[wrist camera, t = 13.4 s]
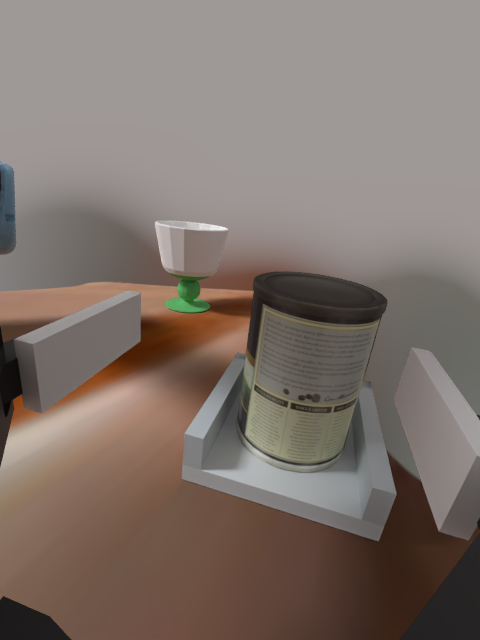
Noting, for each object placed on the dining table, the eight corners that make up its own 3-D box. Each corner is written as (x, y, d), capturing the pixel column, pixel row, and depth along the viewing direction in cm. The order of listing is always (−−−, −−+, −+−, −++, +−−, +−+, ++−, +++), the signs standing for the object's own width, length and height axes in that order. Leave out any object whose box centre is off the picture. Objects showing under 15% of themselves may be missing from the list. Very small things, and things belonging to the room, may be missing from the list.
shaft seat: (378, 541, 23) (407, 466, 20) (181, 478, 26) (186, 407, 23) (354, 378, 44) (367, 333, 42) (249, 355, 47) (255, 311, 45)
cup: (233, 305, 68) (241, 229, 63) (197, 323, 57) (203, 231, 51) (180, 291, 74) (184, 220, 68) (138, 305, 62) (138, 220, 56)
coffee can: (217, 409, 32) (231, 270, 27) (298, 391, 37) (323, 270, 32) (274, 491, 24) (310, 312, 19) (369, 453, 29) (418, 303, 24)
